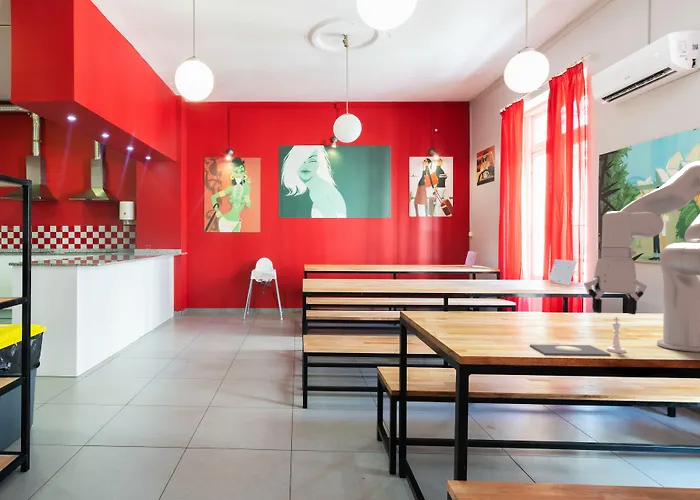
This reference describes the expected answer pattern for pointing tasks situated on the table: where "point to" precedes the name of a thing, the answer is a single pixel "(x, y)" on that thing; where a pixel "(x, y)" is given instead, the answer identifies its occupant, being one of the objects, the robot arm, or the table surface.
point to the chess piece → (616, 339)
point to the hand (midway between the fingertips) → (614, 313)
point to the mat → (569, 350)
